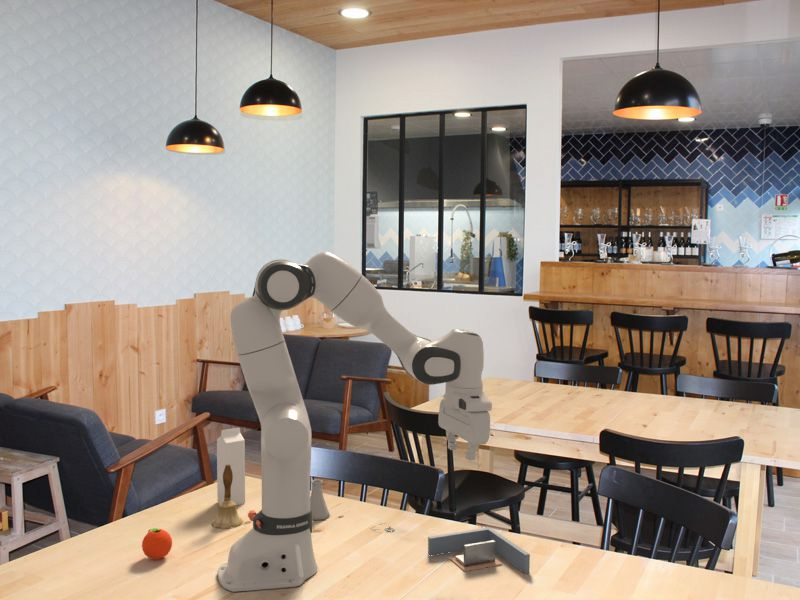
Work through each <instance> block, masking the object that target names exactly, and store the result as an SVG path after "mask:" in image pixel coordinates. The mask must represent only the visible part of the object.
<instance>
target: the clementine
mask: <svg viewBox="0 0 800 600" xmlns="http://www.w3.org/2000/svg"><path fill="white" fill-rule="evenodd" d="M172 547H173V540H172V537H171V534H169V532H168V531H166V530H165V529H162V528H155V527H154V528H153V527H152V528H151V529H148V531H147V533H146V534H145V536H144V537H143V539H142V542H141V548H142V552H143V553H144V555H145V556H146V557H147V558H149V559H150V560H151V559H152V560H161V559H164V558H165V557H166V556H167V555H168V554H169V553H170V552H171V549H172Z"/></svg>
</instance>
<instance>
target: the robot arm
mask: <svg viewBox="0 0 800 600" xmlns="http://www.w3.org/2000/svg"><path fill="white" fill-rule="evenodd" d="M310 298H312V299H315V300H316V301H318V302H320V303H321V304H322V305H324V307H325V308H327V309H328V310H329V311H330V312H332V314H334V315H335V316H337V317H338V318H339V319H341V320H343V321H344V322H346V323H347V324H349V325H350V326H353V327H355V328H358V329H362V330H365V331H367V332H369V333H371V334H372V335H373V336H375V337H376V338H377V339H378V340H379V341H381V342H382V343H383V344H385V346H387V347H388V348H389V349H390V350H391V351H392V352H393V353H394V354H395V355H396V357H397V359H398V360H399V364H400V365H401V367H402V369H403V371H405V373H406V374H407V375H409V376H410V377H412V378H415V379H416V380H417V381H419V382H420V383H422V384H424V385H429V386H431V385H432V386H433V385H437V384H438V385H439V384H445V391H444V394H443V396H442V397H443V398H442V399H441V400H440V401H439V402H440V404H439V410H438V421H437V423H438V426H439V428H441V429H443V430H445V435H446V439H447V448H448V449H449V450H450V451H456V450H457V449H458V442H456V439H457V438H456V436H457V437H459V438H461V439H462V440H464V441H466V442H467V446H468V448H467V451H465V460H468V461H475V459H476V452H477V451H478V448H479V446H482V445H486V444H487V443H488V442H489V439H490V432H491V430H490V429H491V415H490V413H489V412H491V411H492V407H493V404H492V401H491V400H490V399H489V398H488V397H487V395H486V393H485V392H484V391H483V380H482V373H483V371H484V367H485V366H484V365H485V364H484V361H485V360H484V359H485V357H484V352H485V351H484V342H483V338H482V337H481V336H480V335H479V334H478V333H476V332H473V331H469V330H465V329H459V328H453V329H451V330H450V331H449V332H447V333H446V334H445V335H443V336H441V337H439V338H436V339H434V340H431V339H429V338H425V337H423V336H419V335H415V334H413V332H411V331H409V330H408V329H407V328H406V327H405V326H404V325H402V324H401V323H400V322H399V321H398V320H397V319H396V318H394V317H393V316H392V315H391V314H390V312H389V311H388V310H387V308H386V307H385V305H384V301H383V297H382V295H381V293H380V292H379V291H378V289H377V288H376V287H375V286H374V285H373V284H372V282H370V280H369V279H367V277H366V276H364V275H363V274H362V273H361V272H359V271H358V270H357V269H356V268H355V267H353V266H352V265H351V264H349V263H347V262H346V261H345V260H343V259H342V258H340V257H338V256H337V255H335V254H333V253H331V252H328V251H323V252H319V253H317V254H314V255H313V256H312V257H311V258H310V259H309V260H308V261H307V262H305V264H300V263H296V262H293V261H290V260H287V259H274V260H271V261H269V262H267V263H265V264H264V265H263V266H262V267H261V268H260V270H259V271H258V272H257V275H256V279H255V282H254V288H253V292H252V297H250V298H248V299H246V300H245V299H244V300H242V301H240V302H239V303H237V304H236V305H235V306H234V307H233V308H232V310H231V311H230V316H229V321H230V328H231V335H232V339H233V344H234V349H235V350H236V351H235V353H236V356H237V358H238V361H239V365H240V368H241V370H242V371H241V372H242V373H243V374H242V375H243V377H244V380H245V384H246V387H247V389H248V392H249V394H250V397H251V400H252V402H253V405H254V408H255V411H256V414H257V416H258V419H259V420H258V421H259V422H260V428H261V429H260V437H261V438H260V443H261V444H260V447H261V448H260V452H261V454H260V455H261V459H260V460H261V510H260V511H259V512H257V511H256V510H253V509H252V510H250V511H248V512H247V517H248V518H249V520H250V521H251V522H252V528H251V529H250V530H249V531H248V532H246V533H245V534H244V535H243V536H242V537H240V538H239V539H238V540H236V541H235V542H234V543H233V544H232V545H231V547H230V549H229V553H228V558H227V562H225V563H222V564H221V565H220V566H219V568H218V569H217V579H218V582H219V584H220V585H221V586H222V587H223V588H224V589H226V590H228V591H230V592H233V593H234V592H247V591H258V590H260V591H261V590H268V589H269V590H270V589H282V588H285V589H286V588H293V587H295V588H296V587H300V586H301V585H302V584H303V583H304V582H305V580H307V579H309V578H310V577H312V576H314V575H315V574H316V572H317V571H318V565H317V562H316V558H315V552H314V549H313V547H314V546H313V540H312V539H313V538H312V533H313V527H314V525H313V523H314V520H313V515H312V509H311V508H310V497H311V466H312V463H311V461H312V427H311V422H310V418H309V414H308V411H307V407H306V404H305V402H304V399H303V396H302V392H301V389H300V385H299V382H298V379H297V375H296V373H295V370H294V365H293V363H292V359H291V356H290V354H289V350H288V347H287V343H286V340H285V336H284V334H283V329H282V327H281V319H280V318H281V317H280V316H281V314H282V312H283V311H288V310H291V309H293V308H295V307H297V306H299V305H300V304H302V303H303V302H304V301H306V300H308V299H310Z"/></svg>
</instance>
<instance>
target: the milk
mask: <svg viewBox="0 0 800 600" xmlns="http://www.w3.org/2000/svg"><path fill="white" fill-rule="evenodd" d="M245 443H246V441H245V438H244V437H243V435H242V433H241V428H240V427H233V428H228V429H227V428H226V429H222V430H221V433H220V436H218V438H216V464H217V465H216V466H217V467H216V474H217V475H216V478H217V480H216V481H217V482H216V483H217V486H216V489H217V499H216V500H217V503H218V502H219V503H218V504H220V503H221V502H223V501H224V496H225V487H224V483H223V472H224V469H225V466H226V465H230V466H231V470H232V474H233V480H232V484H231V497H230V498H231V501H233V502H235V503H236V506H239V505H238V504H241V505H244V504H243V503H245V504H246V456H245V455H246V449H245V448H246V447H245V445H246V444H245Z"/></svg>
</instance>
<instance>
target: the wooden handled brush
mask: <svg viewBox="0 0 800 600" xmlns="http://www.w3.org/2000/svg"><path fill="white" fill-rule="evenodd" d="M232 480H233V474H232V470H231V466H230V465H226V466H225V469H224V472H223V483H224V487H225V496H224V501H223V502H221V503H218V509H217V510H218V511H217V513H216V517H215V518H214V519H213V520H212V522H211V526H212V527H214V526H215V527H214V528H217V527H219V528H218V529H232V528H237V527H238V526H239V527H240V526H241V525H242V524H243V523H244V520H243V518H241V516H240V515H239V513H238V510H237V505H236V503H235V502H233V501H231V498H230V497H231V484H232ZM231 527H232V528H231Z"/></svg>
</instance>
